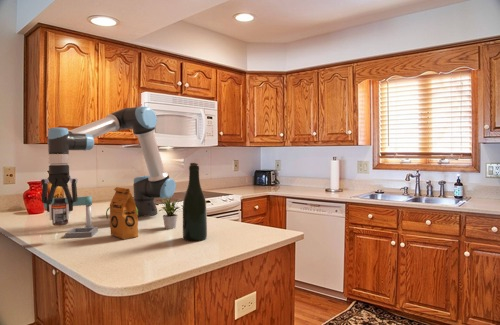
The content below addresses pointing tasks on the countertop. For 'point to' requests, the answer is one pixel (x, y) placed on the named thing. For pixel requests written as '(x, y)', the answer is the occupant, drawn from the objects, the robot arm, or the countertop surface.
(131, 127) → the robot arm
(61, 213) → the supplement bottle
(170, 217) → the house plant
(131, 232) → the coffee package
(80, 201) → the clip
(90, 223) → the grey stand with post
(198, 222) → the dark green wine bottle
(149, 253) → the countertop surface
